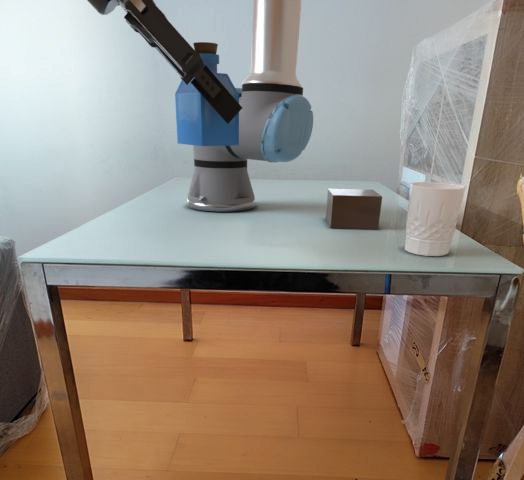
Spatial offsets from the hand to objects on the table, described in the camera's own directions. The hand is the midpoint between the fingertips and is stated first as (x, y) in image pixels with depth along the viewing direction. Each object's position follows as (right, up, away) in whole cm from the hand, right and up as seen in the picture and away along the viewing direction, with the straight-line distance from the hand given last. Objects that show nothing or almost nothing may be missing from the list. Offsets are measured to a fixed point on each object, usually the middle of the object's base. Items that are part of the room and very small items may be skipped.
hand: (231, 115), depth 66 cm
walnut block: (+22, -8, +28) cm, 36 cm away
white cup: (+30, -17, +10) cm, 36 cm away
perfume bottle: (-3, -4, +1) cm, 5 cm away
